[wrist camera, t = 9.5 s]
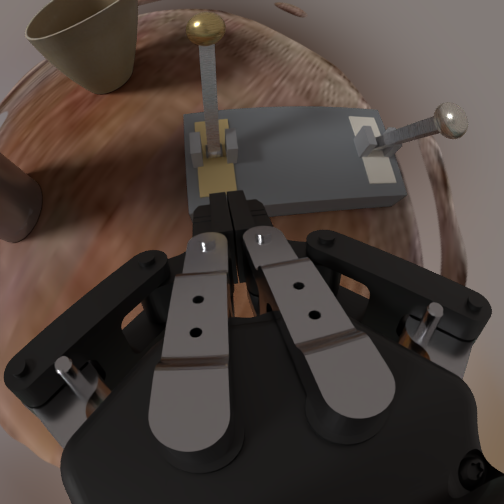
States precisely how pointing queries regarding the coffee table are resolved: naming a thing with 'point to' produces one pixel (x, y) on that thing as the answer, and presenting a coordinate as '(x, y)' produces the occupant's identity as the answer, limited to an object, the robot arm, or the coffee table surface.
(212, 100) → the brass lever
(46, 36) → the plant pot
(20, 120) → the coffee table surface
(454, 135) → the silver lever
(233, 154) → the switch panel
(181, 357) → the robot arm
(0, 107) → the coffee table surface
